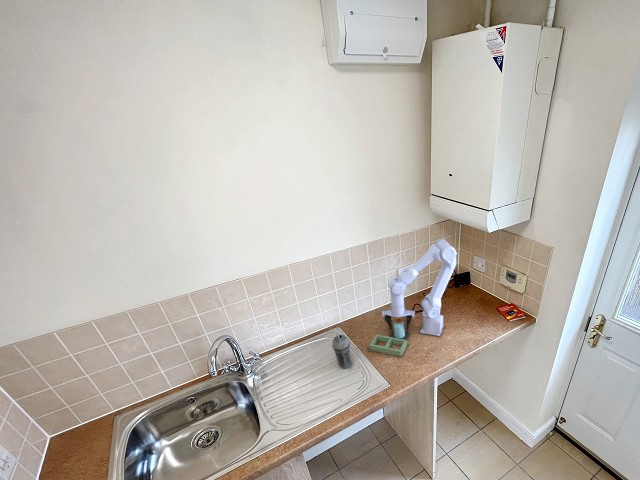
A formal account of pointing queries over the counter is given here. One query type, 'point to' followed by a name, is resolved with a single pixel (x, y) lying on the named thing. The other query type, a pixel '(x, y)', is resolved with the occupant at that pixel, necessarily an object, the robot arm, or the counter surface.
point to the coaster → (400, 338)
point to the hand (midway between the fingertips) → (399, 328)
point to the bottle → (399, 329)
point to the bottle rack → (388, 345)
